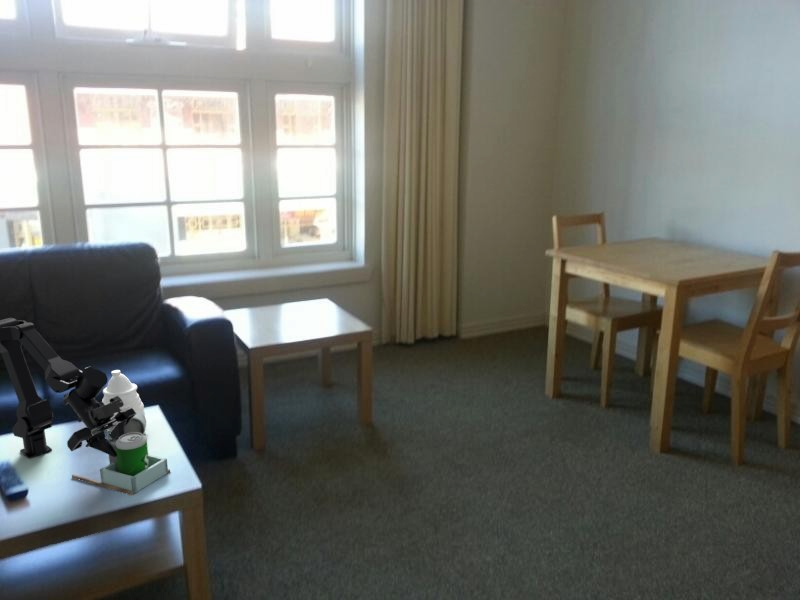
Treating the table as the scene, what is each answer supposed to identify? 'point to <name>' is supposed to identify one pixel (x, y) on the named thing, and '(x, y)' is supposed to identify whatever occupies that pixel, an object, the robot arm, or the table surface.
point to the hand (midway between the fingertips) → (121, 453)
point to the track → (106, 484)
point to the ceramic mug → (136, 424)
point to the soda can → (132, 453)
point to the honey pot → (122, 393)
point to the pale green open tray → (138, 481)
